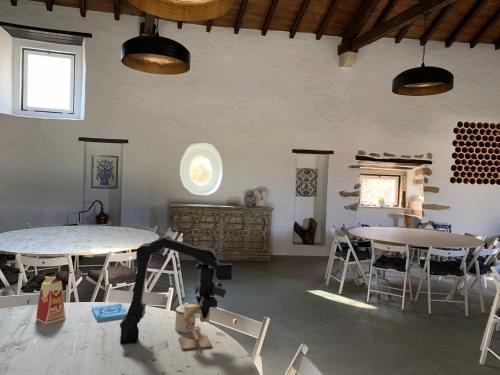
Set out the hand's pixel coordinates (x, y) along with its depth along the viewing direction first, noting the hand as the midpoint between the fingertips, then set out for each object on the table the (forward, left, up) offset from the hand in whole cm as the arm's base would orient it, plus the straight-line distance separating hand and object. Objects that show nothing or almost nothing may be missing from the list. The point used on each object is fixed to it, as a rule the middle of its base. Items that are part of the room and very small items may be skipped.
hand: (203, 316), depth 160 cm
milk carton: (-62, +34, -11) cm, 72 cm away
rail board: (-3, 0, -11) cm, 11 cm away
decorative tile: (-37, +37, -12) cm, 54 cm away
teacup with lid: (-4, +16, -11) cm, 20 cm away
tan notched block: (-3, 0, -2) cm, 3 cm away
